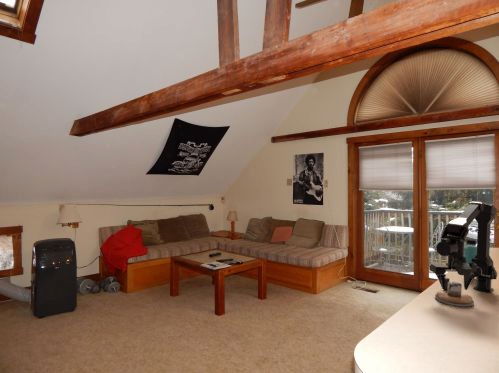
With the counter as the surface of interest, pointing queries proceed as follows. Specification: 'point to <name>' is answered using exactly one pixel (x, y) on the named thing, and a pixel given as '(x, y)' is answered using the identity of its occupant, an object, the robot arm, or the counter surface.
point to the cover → (454, 289)
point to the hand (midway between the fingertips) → (454, 289)
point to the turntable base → (454, 303)
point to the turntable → (460, 300)
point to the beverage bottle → (470, 250)
